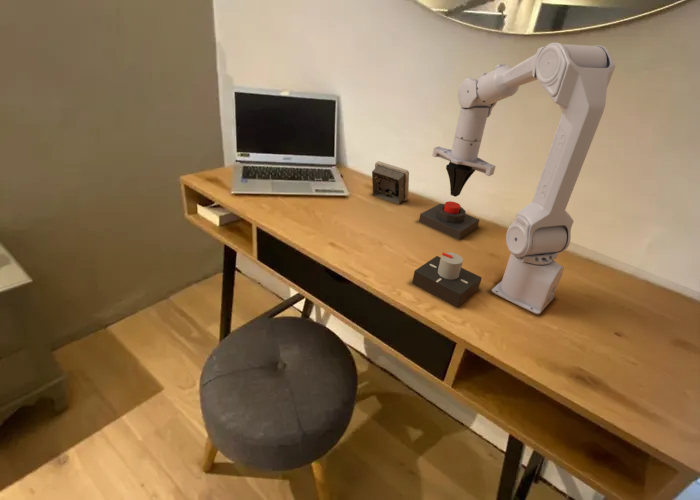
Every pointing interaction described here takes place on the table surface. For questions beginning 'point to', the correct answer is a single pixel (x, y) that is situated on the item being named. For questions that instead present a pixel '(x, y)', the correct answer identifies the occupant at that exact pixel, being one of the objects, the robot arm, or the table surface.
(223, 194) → the table surface
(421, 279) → the dial panel
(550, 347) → the table surface
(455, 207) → the power button
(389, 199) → the electrical switch
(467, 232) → the button block
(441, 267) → the dial
